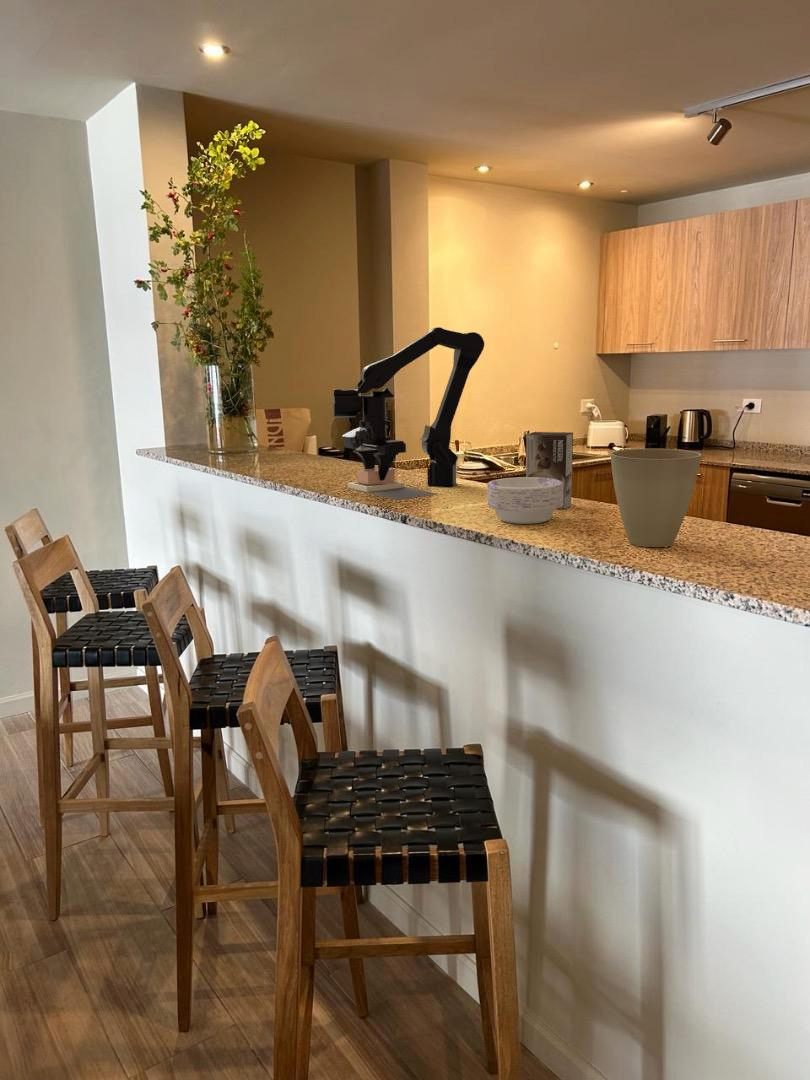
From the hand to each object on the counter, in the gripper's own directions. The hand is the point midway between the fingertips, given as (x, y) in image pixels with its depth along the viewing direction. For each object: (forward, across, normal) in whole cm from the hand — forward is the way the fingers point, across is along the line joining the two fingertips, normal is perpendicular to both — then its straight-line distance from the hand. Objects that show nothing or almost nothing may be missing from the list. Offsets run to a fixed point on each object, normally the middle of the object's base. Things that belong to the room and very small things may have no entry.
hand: (375, 479), depth 196 cm
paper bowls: (+3, +50, +2) cm, 51 cm away
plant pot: (+3, +79, +4) cm, 79 cm away
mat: (+3, +6, 0) cm, 7 cm away
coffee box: (+3, +42, +17) cm, 46 cm away
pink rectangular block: (+1, 0, 0) cm, 1 cm away
